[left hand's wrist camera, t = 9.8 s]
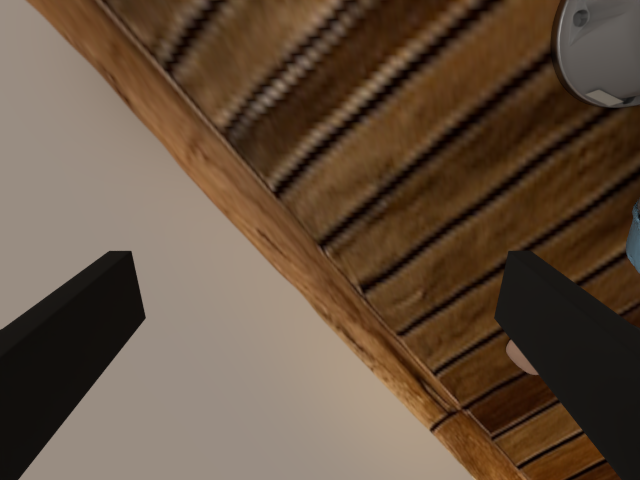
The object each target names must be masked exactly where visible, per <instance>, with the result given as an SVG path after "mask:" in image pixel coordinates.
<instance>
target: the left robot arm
mask: <svg viewBox="0 0 640 480" xmlns="http://www.w3.org/2000/svg"><path fill="white" fill-rule="evenodd" d="M551 55H552V61H553V66H554V69H555V72H556V74H557V76H558V78H559V80H560V82H561V84H562V85H563V86H564V88H565V89H566V90H567V91H568V92H569V93H570V94H571V95H572V96H574V97H575V98H577V99H578V100H580V101H582V102H584V103H586V104H590V105H593V106H598V107H615V108H616V107H628V106H635V105H640V0H561V1H560V4H559V6H558V9H557V12H556V15H555V19H554V22H553V28H552V34H551ZM626 252H627V256H628V258H629V260H630V261H631V263H632V264H633V265H634V266H635V268H636V270H637V271H638V272H639V273H640V198H639V200H638V201H637V203H636V204H635V205H634V207H633V221H632V225H631V228H630V232H629V235H628V238H627V242H626ZM145 318H146V317H145V312H144V308H143V303H142V298H141V294H140V289H139V284H138V280H137V275H136V270H135V266H134V261H133V256H132V252H131V251H109V252H107V253H106V254H104V255H103V256H102V257H100V258H99V259H98V260H96V261H95V262H94V263H92V264H91V265H89V266H88V267H87V268H85V269H84V270H83V271H81V272H80V273H79V274H77V275H76V276H74V277H73V278H72V279H70V280H69V281H67V282H66V283H65V284H63V285H62V286H61V287H59V288H58V289H56V290H55V291H54V292H52V293H51V294H50V295H48V296H47V297H46V298H44V299H43V300H41V301H40V302H39V303H37V304H36V305H35V306H33V307H32V308H30V309H29V310H28V311H26V312H25V313H24V314H22V315H21V316H20V317H18V318H17V319H15V320H14V321H13V322H11V323H10V324H9V325H7V326H6V327H4V328H3V329H1V330H0V480H18V479H19V478H20V477H21V475H22V474H23V473H24V472H25V470H26V469H27V468H28V467H29V465H30V464H31V463H32V462H33V460H34V459H35V458H36V456H37V455H38V454H39V453H40V451H41V450H42V449H43V448H44V446H45V445H46V444H47V443H48V441H49V440H50V439H51V437H52V436H53V435H54V434H55V432H56V431H57V430H58V429H59V427H60V426H61V425H62V424H63V422H64V421H65V420H66V419H67V417H68V416H69V415H70V413H71V412H72V411H73V410H74V408H75V407H76V406H77V405H78V403H79V402H80V401H81V399H82V398H83V397H84V396H85V394H86V393H87V392H88V391H89V389H90V388H91V387H92V386H93V384H94V383H95V382H96V380H97V379H98V378H99V377H100V375H101V374H102V373H103V372H104V370H105V369H106V368H107V366H108V365H109V364H110V363H111V361H112V360H113V359H114V358H115V356H116V355H117V354H118V353H119V351H120V350H121V349H122V348H123V346H124V345H125V344H126V342H127V341H128V340H129V339H130V337H131V336H132V335H133V334H134V332H135V331H136V330H137V329H138V327H139V326H140V325H141V323H142V322H143V321H144V320H145ZM494 318H495V320H496V321H497V322H498V323H499V325H500V326H501V327H502V329H503V330H504V331H505V332H506V334H507V335H508V336H509V337H510V339H511V340H512V341H513V342H514V344H515V345H516V346H517V348H518V349H519V350H520V351H521V353H522V354H523V355H524V356H525V358H526V359H527V360H528V361H529V363H530V364H531V365H532V367H533V368H534V369H535V370H536V372H537V373H538V374H539V375H540V377H541V378H542V379H543V380H544V382H545V383H546V384H547V386H548V387H549V388H550V389H551V391H552V392H553V393H554V394H555V396H556V397H557V398H558V399H559V401H560V402H561V403H562V405H563V406H564V407H565V408H566V410H567V411H568V412H569V413H570V415H571V416H572V417H573V419H574V420H575V421H576V422H577V424H578V425H579V426H580V427H581V429H582V430H583V431H584V432H585V434H586V435H587V436H588V438H589V439H590V440H591V441H592V443H593V444H594V445H595V446H596V448H597V449H598V450H599V451H600V453H601V454H602V455H603V457H604V458H605V459H606V460H607V462H608V463H609V464H610V465H611V467H612V468H613V469H614V470H615V472H616V473H617V474H618V476H619V477H620V478H621V479H622V480H640V328H638V327H636V326H634V325H631V324H630V323H629V322H627V321H626V320H625V319H623V318H622V317H621V316H619V315H618V314H616V313H615V312H614V311H612V310H611V309H610V308H608V307H607V306H605V305H604V304H603V303H601V302H600V301H599V300H597V299H596V298H594V297H593V296H592V295H590V294H589V293H588V292H586V291H585V290H584V289H582V288H581V287H579V286H578V285H577V284H575V283H574V282H573V281H571V280H570V279H568V278H567V277H566V276H564V275H563V274H562V273H560V272H559V271H557V270H556V269H555V268H553V267H552V266H551V265H549V264H548V263H547V262H545V261H544V260H542V259H541V258H540V257H538V256H537V255H536V254H534V253H533V252H531V251H509V252H508V256H507V261H506V266H505V270H504V275H503V280H502V284H501V289H500V294H499V298H498V303H497V308H496V312H495V317H494Z"/></svg>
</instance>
